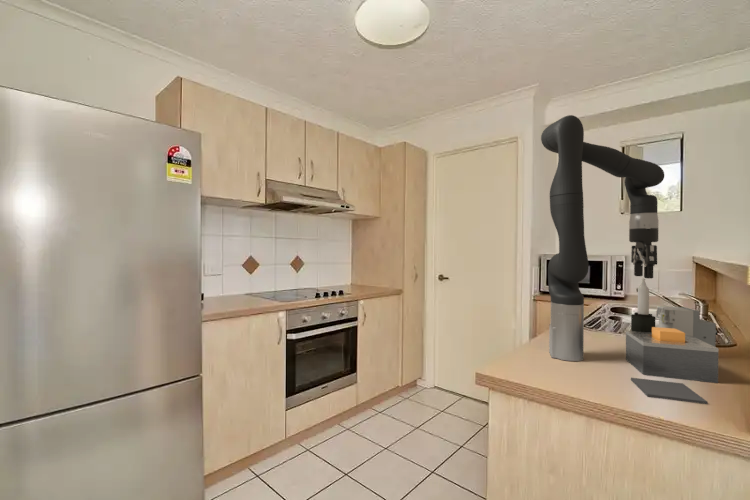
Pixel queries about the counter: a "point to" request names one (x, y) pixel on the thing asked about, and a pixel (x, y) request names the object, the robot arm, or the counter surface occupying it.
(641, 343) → the box
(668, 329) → the button
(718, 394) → the counter surface
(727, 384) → the counter surface
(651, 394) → the mat
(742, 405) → the counter surface
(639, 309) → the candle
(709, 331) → the circuit breaker
